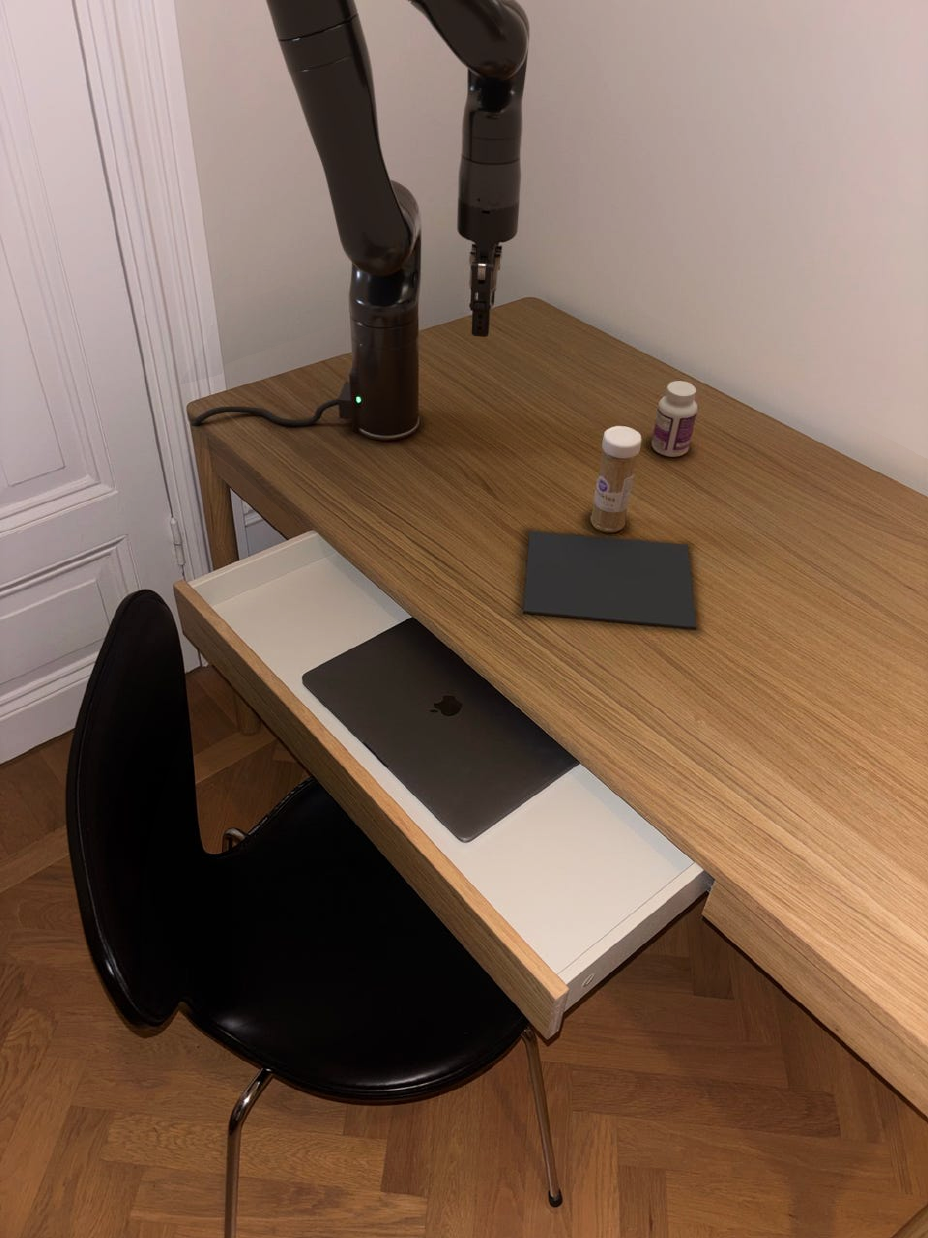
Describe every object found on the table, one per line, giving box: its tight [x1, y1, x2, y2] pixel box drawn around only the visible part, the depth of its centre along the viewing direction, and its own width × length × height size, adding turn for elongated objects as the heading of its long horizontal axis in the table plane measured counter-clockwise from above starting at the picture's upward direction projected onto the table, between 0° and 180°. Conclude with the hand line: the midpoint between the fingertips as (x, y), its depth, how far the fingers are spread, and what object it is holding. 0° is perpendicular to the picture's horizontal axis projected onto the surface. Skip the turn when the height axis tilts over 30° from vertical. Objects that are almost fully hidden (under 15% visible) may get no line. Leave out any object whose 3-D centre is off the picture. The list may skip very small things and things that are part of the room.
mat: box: [522, 530, 697, 630], centre depth 115 cm, size 20×15×1 cm
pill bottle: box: [651, 380, 698, 458], centre depth 133 cm, size 5×5×10 cm
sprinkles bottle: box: [590, 425, 642, 533], centre depth 118 cm, size 5×5×14 cm
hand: (482, 319), depth 126 cm, fingers open, 8 cm apart
